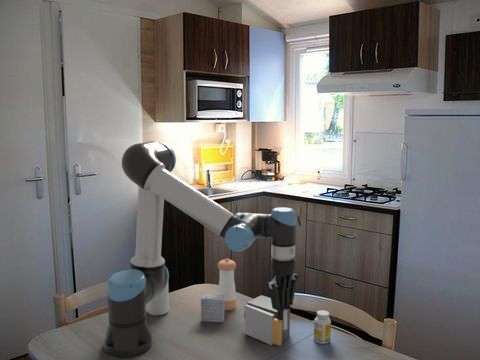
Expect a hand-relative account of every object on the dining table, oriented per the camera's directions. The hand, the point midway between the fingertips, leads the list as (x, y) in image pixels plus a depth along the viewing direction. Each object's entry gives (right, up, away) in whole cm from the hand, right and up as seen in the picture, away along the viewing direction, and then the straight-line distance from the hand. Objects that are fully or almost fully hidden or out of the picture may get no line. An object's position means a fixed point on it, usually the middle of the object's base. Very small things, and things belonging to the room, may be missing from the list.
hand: (282, 328), depth 151 cm
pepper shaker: (-19, -2, +31) cm, 36 cm away
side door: (-6, -5, +3) cm, 9 cm away
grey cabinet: (-4, -5, +9) cm, 11 cm away
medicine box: (-23, -3, +19) cm, 31 cm away
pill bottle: (-44, -2, +26) cm, 51 cm away
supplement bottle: (+13, -6, +5) cm, 15 cm away
